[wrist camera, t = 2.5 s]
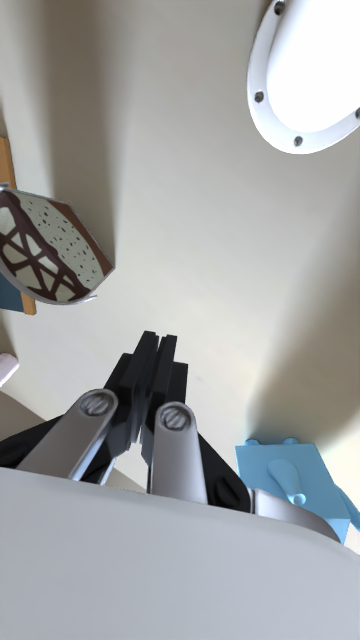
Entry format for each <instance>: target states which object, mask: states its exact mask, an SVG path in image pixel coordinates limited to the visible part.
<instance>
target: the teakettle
mask: <svg viewBox="0 0 360 640" xmlns="http://www.w3.org/2000/svg"><path fill="white" fill-rule="evenodd" d="M244 445H245V446H235V450H236V458H237V467H238V475H239V477H240V479H241V480H242V481H243V483H244V484H245V485H246V487H248V488H250V489H252V490H254V489H255V487H256V488H258V489H261V490H263V491H265V492H267V493H270V494H272V495H274V496H277V497H279V498H281V499H283V500H286V501H288V502H290V503H293V504H295V505H297V506H299V507H302V508H304V509H306V510H309V511H311V512H313V513H315V514H317V515H318V516H320V517H322V518H323V519H324V520H325V521H326V522H327V523H328V524H329V525H330V526H331V527H332V528H333V530H334V531H335V533H336V534H337V536H338V537H339V539H340V542H341V544H342V545H344V542H345V538H346V535H347V531H348V527H349V523H350V522H351V523H352V524H353V525H354V527H355V528H356V529H357V530H358V531H359V532H360V512H359V511H358V510H357V508H356V507H355V506H354V504H353V503H352V502H351V500H350V499H349V498H348V496H347V495H346V494H345V493H344V492H343V491H342V490H341V489H340V488H339V487H338V486H337V485H336V484H334V482H333V480H332V478H331V476H330V474H329V472H328V470H327V468H326V466H325V464H324V462H323V460H322V458H321V456H320V454H319V452H318V450H317V448H316V446H315V444H314V443H309V444H298V440H297V439H295V438H287V439H285V440H284V441H283V442H282V444H278V445H260V443H259V442H258V441H257V440H254V439H250V440H247V441H246V442H245V443H244Z"/></svg>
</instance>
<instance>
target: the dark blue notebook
mask: <svg viewBox="0 0 360 640" xmlns="http://www.w3.org/2000/svg"><path fill="white" fill-rule="evenodd" d="M0 182H9V183H10V184H9V185H8V186H7V188H11V189H15V190H17V189H16V183H15V177H14V171H13V164H12V158H11V152H10V146H9V140H8V139H6V138H4V137H0ZM0 308H1V309H7V310H13V311H18V312H24V313H25V314H28V315H35V314H36V307H35V301H34V299H33V298H31V297H29V296H28V295H26V294H24V293H23V292H21V291H20V290H18V289H17V288H16V287H15V286H13V285H12V284H11V283H10V282H9V281H8V280H7V279H6V278H5V277H4V275H3V274H2V273H1V272H0Z"/></svg>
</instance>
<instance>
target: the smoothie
mask: <svg viewBox="0 0 360 640" xmlns="http://www.w3.org/2000/svg"><path fill="white" fill-rule="evenodd" d="M18 367H19V362H18V360H17V359H16V358H15V357H14V356H12V355H10V354H8V353H2V354H0V387H1V386H2V385H3V383H4V382H5V381H6V380H7V379H8V378H9V377H10V376H11V375H12V374H13V373H14V372H15V371H16V369H17V368H18Z"/></svg>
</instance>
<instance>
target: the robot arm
mask: <svg viewBox="0 0 360 640" xmlns="http://www.w3.org/2000/svg"><path fill="white" fill-rule="evenodd" d="M275 13H279V15H276V14H275ZM247 94H248V103H249V107H250V111H251V116H252V118H253V120H254V122H255V125H256V127H257V129H258V130H259V132H260V133H261V134H262V136H263V137H264V139H266V140H267V141H268V142H269V143H270V144H271V145H273V146H274V147H276V148H278V149H280V150H282V151H284V152H289V153H293V154H307V153H312V152H316V151H320V150H322V149H324V148H326V147H329V146H331V145H333V144H335V143H336V142H338V141H340V140H341V139H343V138H344V137H346V136H347V135H348V134H350V133H351V132H352V131H353V130H355V129H356V128H357V127H358V126H359V125H360V0H273V1H272V2H271V4H270V6H269V7H268V9H267V11H266V13H265V15H264V17H263V19H262V22H261V24H260V27H259V29H258V31H257V34H256V37H255V40H254V44H253V47H252V51H251V56H250V60H249V65H248V75H247ZM256 98H259V100H260V102H259V103H257V102H255V99H256ZM355 113H356V114H357V117H356V116H355ZM294 141H297V146H294ZM176 342H177V336H174V335H168V334H167V336H166V337H163V336H162V339H161V342H160V345H159V348H158V343H159V336H157V335H156V332H151V331H144V333H143V335H142V337H141V339H140V341H139V343H138V345H137V347H136V349H135V351H134V353H133V354H128V353H123V354H122V356H121V358H120V360H119V361H118V363H117V365H116V367H115V368H114V370H113V372H112V374H111V375H110V377H109V379H108V381H107V382H106V384H105V386H104V388H103V389H94V390H90V391H88V392H86V393H84V394H83V395H82V396H81V397H80V398H79V399H78V400H77V401H76V402H75V403H74V404H73V405H72V406H71V408H70V409H69V410H68V411H67V412H66V413H65V414H63V415H61V416H58V417H56V418H54V419H51V420H49V421H46V422H44V423H42V424H39V425H37V426H35V427H32V428H30V429H27V430H25V431H22V432H20V433H18V434H15V435H13V436H10V437H8V438H7V439H5V440H2V441H1V442H0V640H360V555H358V554H357V553H355V552H354V551H352V550H351V549H349V548H347V547H345V546H344V545H342V544H341V542H340V539H339V537H338V536H337V534H336V533H335V531H334V530H333V528H332V527H331V526H330V525H329V524H328V523H327V522H326V521H325V520H324V519H323V518H322V517H320V516H318V515H317V514H315V513H313V512H311V511H309V510H306V509H304V508H302V507H299V506H297V505H295V504H293V503H290V502H288V501H286V500H283V499H281V498H279V497H277V496H274V495H272V494H270V493H267V492H265V491H263V490H261V489H258V488H256V487H255V489H254V490H252V489H250V488H248V487H246V485H245V484H244V483H243V481H242V480H241V479H240V477H239V476H238V475H237V474H236V473H235V472H234V471H233V470H232V469H231V468H230V467H229V465H228V464H227V463H226V462H225V461H224V460H223V459H222V458H221V457H220V456H219V454H218V453H217V452H216V451H215V450H214V449H213V448H212V447H211V446H210V445H209V444H208V442H207V441H206V440H205V439H204V438H203V437H202V436H201V435H200V434H199V433H198V431H197V426H196V419H195V416H194V413H193V411H192V410H191V409H190V408H189V407H188V406H187V405H185V397H186V385H187V373H188V364H185V363H180V362H174V361H173V360H174V354H175V348H176ZM140 427H141V434H140V444H142V451H141V455H142V457H143V459H144V460H145V462H146V463H147V465H148V473H147V488H146V493H141V492H135V491H130V490H125V489H119V488H114V487H109V486H104V484H105V482H106V480H107V478H108V476H109V474H110V472H111V470H112V468H113V466H114V464H115V461H116V457H118V456H119V455H121V454H122V453H124V452H125V450H126V451H129V448H130V445H131V443H136V441H137V438H138V434H139V431H140Z"/></svg>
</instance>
